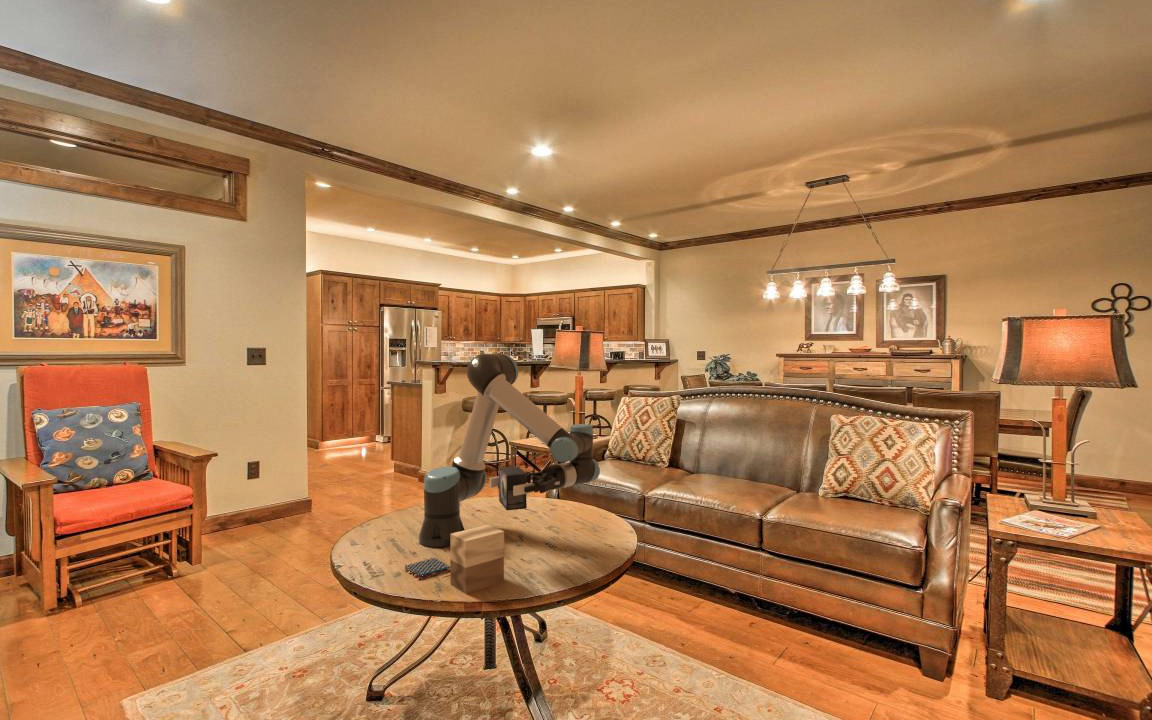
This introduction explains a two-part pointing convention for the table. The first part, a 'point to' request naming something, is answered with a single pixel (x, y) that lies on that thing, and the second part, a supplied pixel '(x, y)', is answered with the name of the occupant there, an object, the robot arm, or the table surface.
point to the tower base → (476, 575)
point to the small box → (511, 488)
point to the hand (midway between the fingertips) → (501, 486)
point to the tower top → (477, 545)
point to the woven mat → (427, 568)
